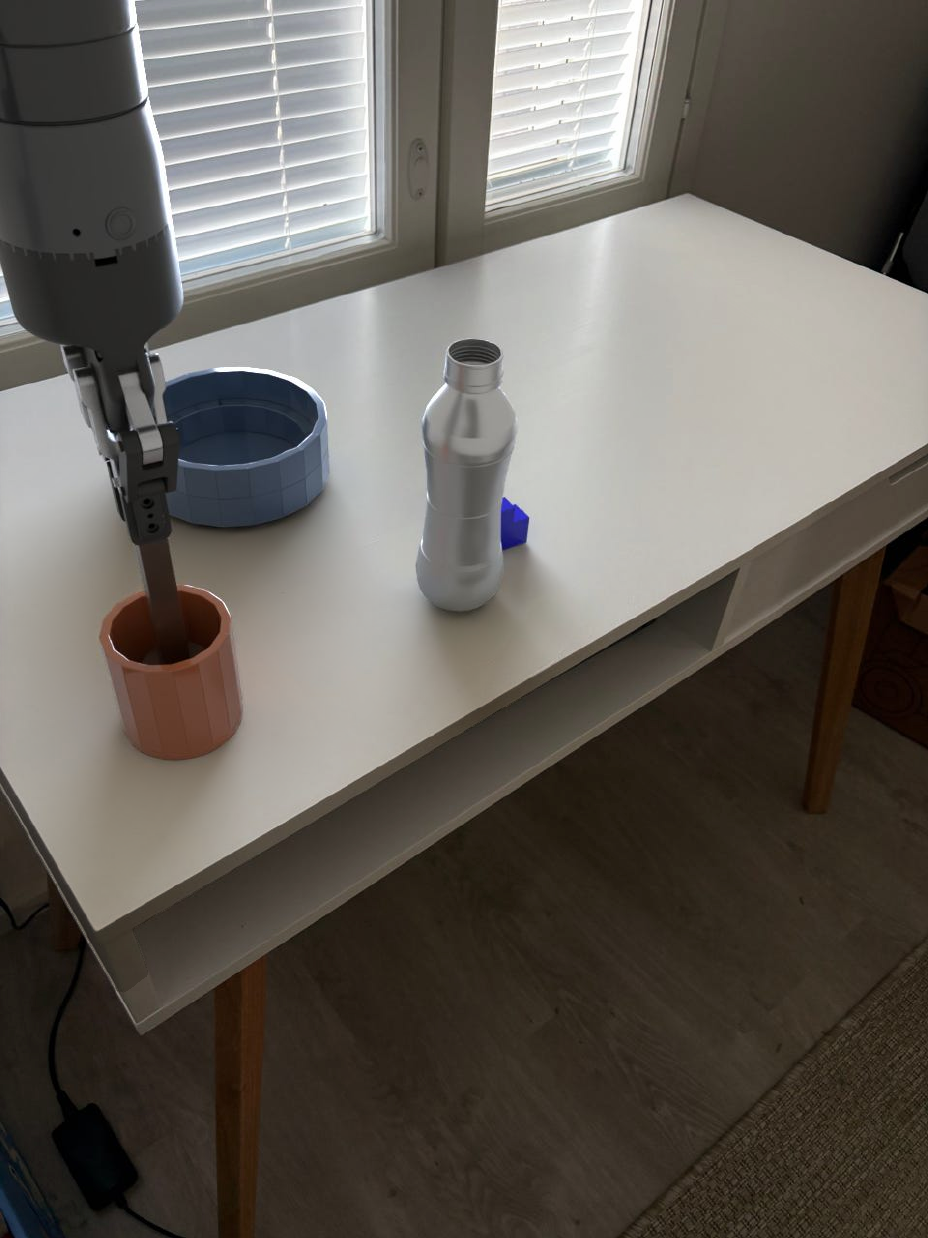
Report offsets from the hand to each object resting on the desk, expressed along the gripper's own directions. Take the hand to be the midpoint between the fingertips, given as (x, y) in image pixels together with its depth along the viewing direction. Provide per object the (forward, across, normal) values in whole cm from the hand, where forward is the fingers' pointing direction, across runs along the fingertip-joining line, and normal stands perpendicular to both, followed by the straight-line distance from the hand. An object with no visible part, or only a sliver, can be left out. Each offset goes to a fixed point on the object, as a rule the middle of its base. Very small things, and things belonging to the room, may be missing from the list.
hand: (145, 526), depth 55 cm
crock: (+16, 0, 0) cm, 16 cm away
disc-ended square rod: (+12, 0, 0) cm, 12 cm away
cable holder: (+16, -10, +28) cm, 34 cm away
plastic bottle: (+16, -3, +22) cm, 27 cm away
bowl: (+16, -24, +12) cm, 31 cm away
